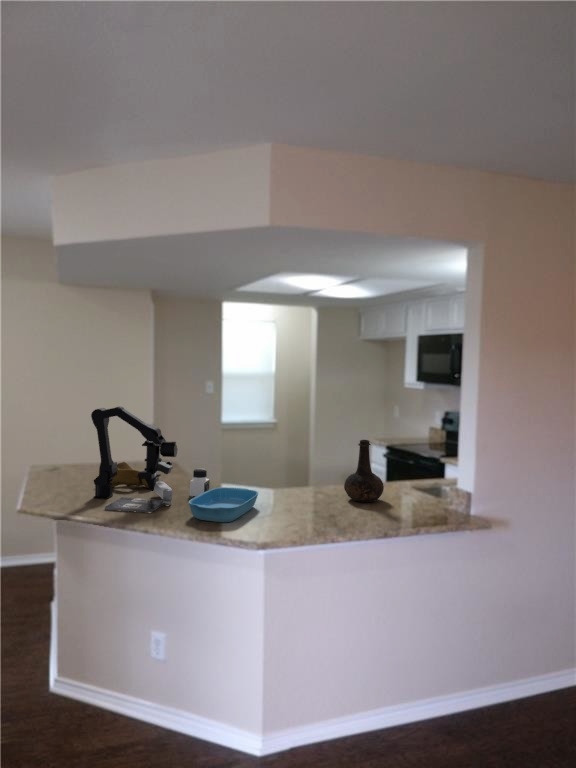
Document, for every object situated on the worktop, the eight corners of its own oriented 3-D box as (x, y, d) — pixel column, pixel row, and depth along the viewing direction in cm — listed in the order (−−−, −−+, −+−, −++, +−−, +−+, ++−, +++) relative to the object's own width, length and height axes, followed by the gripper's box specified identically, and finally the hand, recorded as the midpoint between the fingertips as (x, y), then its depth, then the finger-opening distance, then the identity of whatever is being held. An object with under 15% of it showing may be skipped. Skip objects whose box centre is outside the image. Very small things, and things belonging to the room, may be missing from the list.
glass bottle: (390, 500, 256) (392, 440, 254) (368, 507, 243) (371, 444, 241) (358, 493, 268) (360, 436, 266) (336, 499, 255) (338, 439, 253)
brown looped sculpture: (129, 465, 281) (161, 463, 270) (125, 490, 277) (158, 490, 266) (101, 458, 265) (134, 456, 255) (97, 486, 262) (130, 485, 251)
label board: (104, 509, 226) (104, 504, 226) (121, 500, 242) (121, 495, 241) (159, 513, 223) (159, 508, 222) (173, 503, 238) (173, 498, 238)
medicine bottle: (204, 497, 250) (204, 471, 250) (189, 496, 251) (189, 470, 251) (209, 493, 257) (209, 468, 257) (194, 492, 258) (195, 467, 258)
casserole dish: (217, 499, 249) (217, 483, 249) (264, 504, 243) (264, 488, 242) (179, 522, 214) (179, 504, 213) (232, 529, 207) (233, 510, 207)
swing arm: (173, 500, 235) (173, 490, 235) (163, 501, 233) (164, 491, 233) (162, 489, 252) (162, 480, 252) (153, 490, 251) (153, 481, 250)
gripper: (162, 460, 233) (161, 497, 234) (177, 453, 252) (176, 487, 252) (137, 459, 235) (136, 495, 235) (154, 452, 253) (153, 486, 254)
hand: (152, 491), depth 244 cm, fingers closed
